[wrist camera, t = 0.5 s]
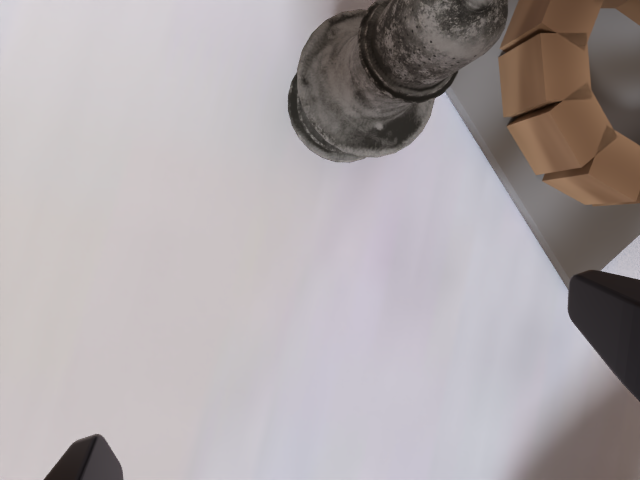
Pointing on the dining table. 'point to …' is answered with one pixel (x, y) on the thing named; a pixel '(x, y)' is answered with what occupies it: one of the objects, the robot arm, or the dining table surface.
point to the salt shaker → (385, 72)
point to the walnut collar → (563, 123)
